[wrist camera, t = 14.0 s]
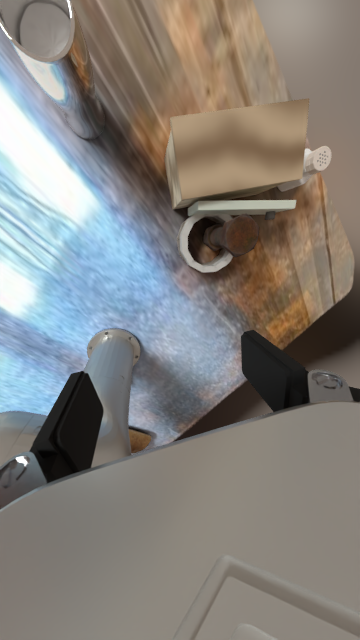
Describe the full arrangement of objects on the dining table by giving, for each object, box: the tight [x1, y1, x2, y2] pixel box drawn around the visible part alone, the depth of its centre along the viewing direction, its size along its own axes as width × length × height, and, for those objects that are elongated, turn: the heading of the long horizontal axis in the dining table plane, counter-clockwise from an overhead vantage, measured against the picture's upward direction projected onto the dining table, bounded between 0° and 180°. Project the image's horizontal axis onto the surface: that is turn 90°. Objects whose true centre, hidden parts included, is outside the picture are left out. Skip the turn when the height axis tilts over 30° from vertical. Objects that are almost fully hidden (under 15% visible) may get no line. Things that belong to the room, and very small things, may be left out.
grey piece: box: [180, 200, 296, 272], centre depth 34 cm, size 12×18×8 cm, turn 92°
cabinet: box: [164, 99, 309, 268], centre depth 33 cm, size 21×19×12 cm
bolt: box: [203, 213, 259, 257], centre depth 33 cm, size 6×5×15 cm
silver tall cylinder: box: [0, 0, 105, 139], centre depth 22 cm, size 7×7×15 cm
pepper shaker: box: [277, 146, 331, 192], centre depth 33 cm, size 4×4×10 cm
